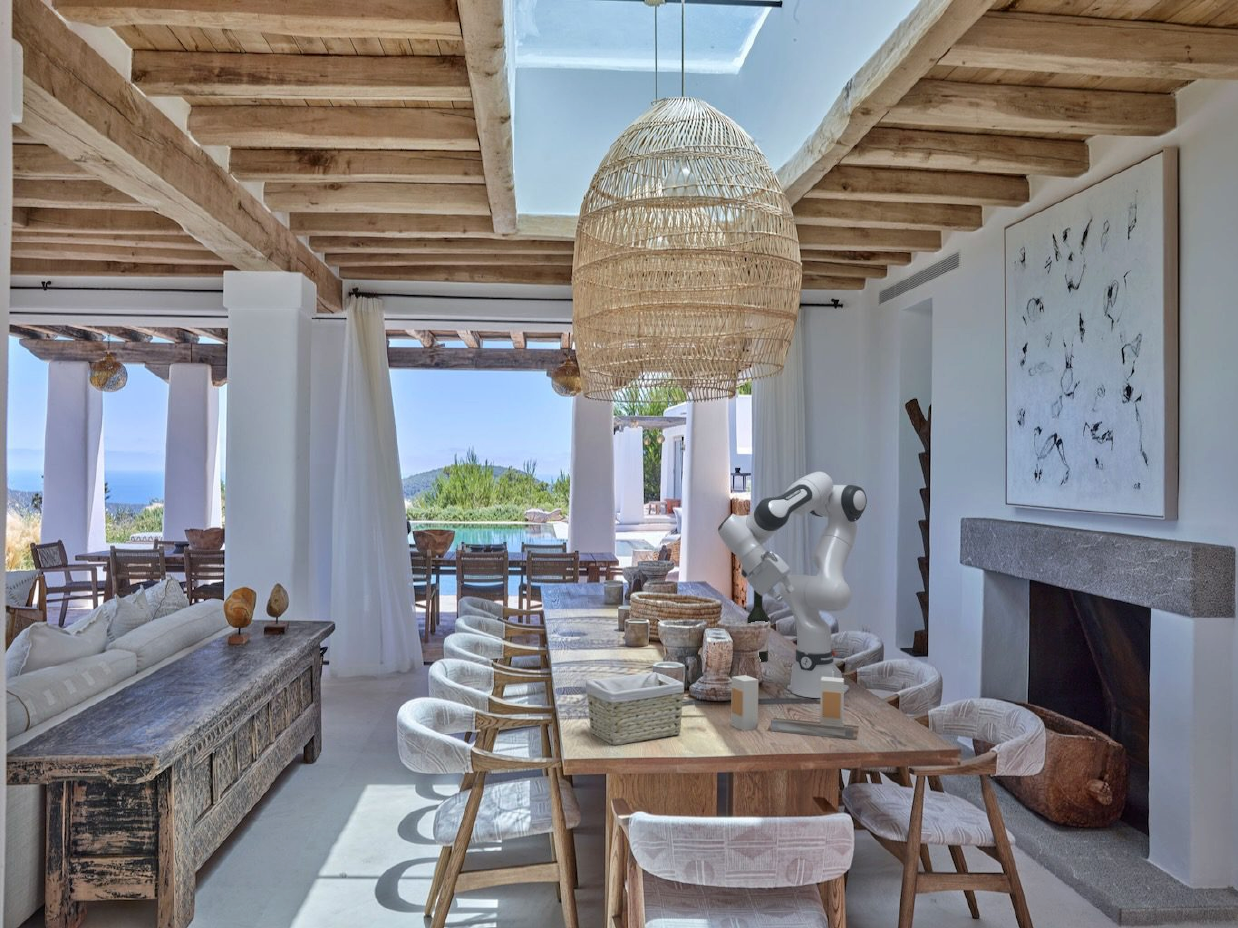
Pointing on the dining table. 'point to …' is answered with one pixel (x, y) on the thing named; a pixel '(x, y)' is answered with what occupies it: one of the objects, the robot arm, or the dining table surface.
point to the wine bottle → (759, 615)
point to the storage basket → (634, 707)
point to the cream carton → (744, 703)
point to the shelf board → (813, 728)
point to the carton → (832, 701)
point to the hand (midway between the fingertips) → (786, 596)
